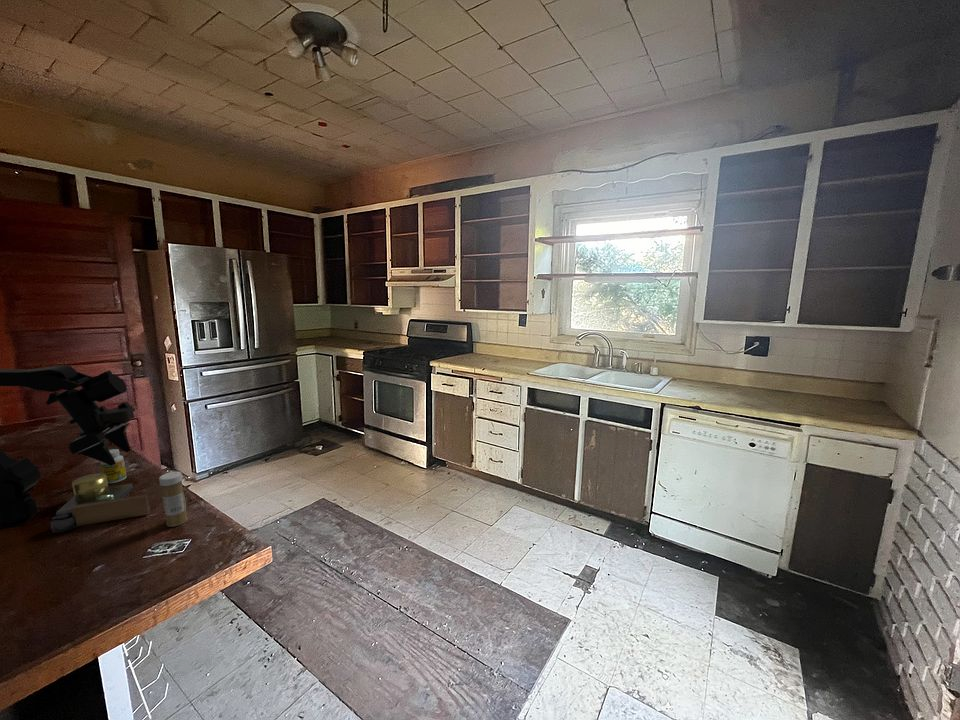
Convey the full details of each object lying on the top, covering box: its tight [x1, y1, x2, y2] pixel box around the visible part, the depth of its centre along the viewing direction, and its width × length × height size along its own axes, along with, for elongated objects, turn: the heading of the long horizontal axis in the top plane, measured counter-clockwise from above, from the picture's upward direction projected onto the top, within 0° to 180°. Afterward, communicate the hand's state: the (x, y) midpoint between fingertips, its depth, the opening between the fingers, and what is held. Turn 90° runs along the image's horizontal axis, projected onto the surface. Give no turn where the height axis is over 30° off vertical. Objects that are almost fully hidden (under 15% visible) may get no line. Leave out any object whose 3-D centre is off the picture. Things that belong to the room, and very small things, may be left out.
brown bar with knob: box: [49, 494, 151, 534], centre depth 103 cm, size 20×5×5 cm, turn 112°
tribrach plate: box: [55, 472, 133, 515], centre depth 112 cm, size 12×12×6 cm
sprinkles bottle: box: [158, 471, 189, 528], centre depth 102 cm, size 5×5×13 cm
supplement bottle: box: [99, 448, 127, 485], centre depth 124 cm, size 5×5×10 cm
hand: (121, 457), depth 109 cm, fingers open, 9 cm apart
